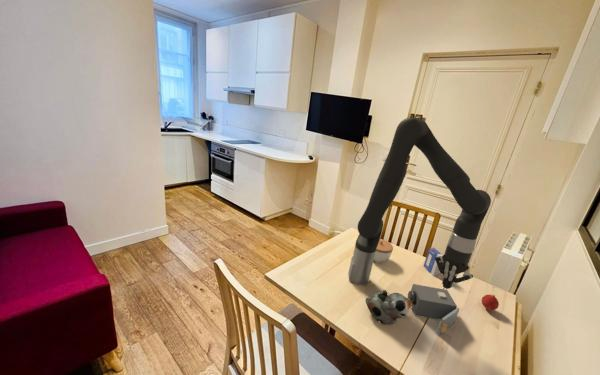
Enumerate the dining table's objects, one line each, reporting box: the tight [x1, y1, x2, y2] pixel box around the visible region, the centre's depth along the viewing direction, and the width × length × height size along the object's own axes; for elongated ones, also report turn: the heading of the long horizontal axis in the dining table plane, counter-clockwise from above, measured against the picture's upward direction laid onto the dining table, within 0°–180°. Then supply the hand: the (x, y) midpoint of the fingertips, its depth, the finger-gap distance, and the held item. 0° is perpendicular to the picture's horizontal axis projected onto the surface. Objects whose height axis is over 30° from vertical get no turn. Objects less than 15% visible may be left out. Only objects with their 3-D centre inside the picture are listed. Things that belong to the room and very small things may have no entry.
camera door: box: [436, 307, 460, 335], centre depth 93 cm, size 12×2×7 cm, turn 123°
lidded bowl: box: [373, 238, 394, 264], centre depth 133 cm, size 13×13×11 cm
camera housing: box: [407, 283, 458, 321], centre depth 102 cm, size 16×9×9 cm, turn 83°
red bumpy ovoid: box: [481, 294, 500, 311], centre depth 106 cm, size 6×6×8 cm
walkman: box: [423, 247, 444, 277], centre depth 127 cm, size 8×3×12 cm, turn 11°
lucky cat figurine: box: [365, 289, 413, 326], centre depth 96 cm, size 15×12×14 cm
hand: (446, 287), depth 90 cm, fingers closed
